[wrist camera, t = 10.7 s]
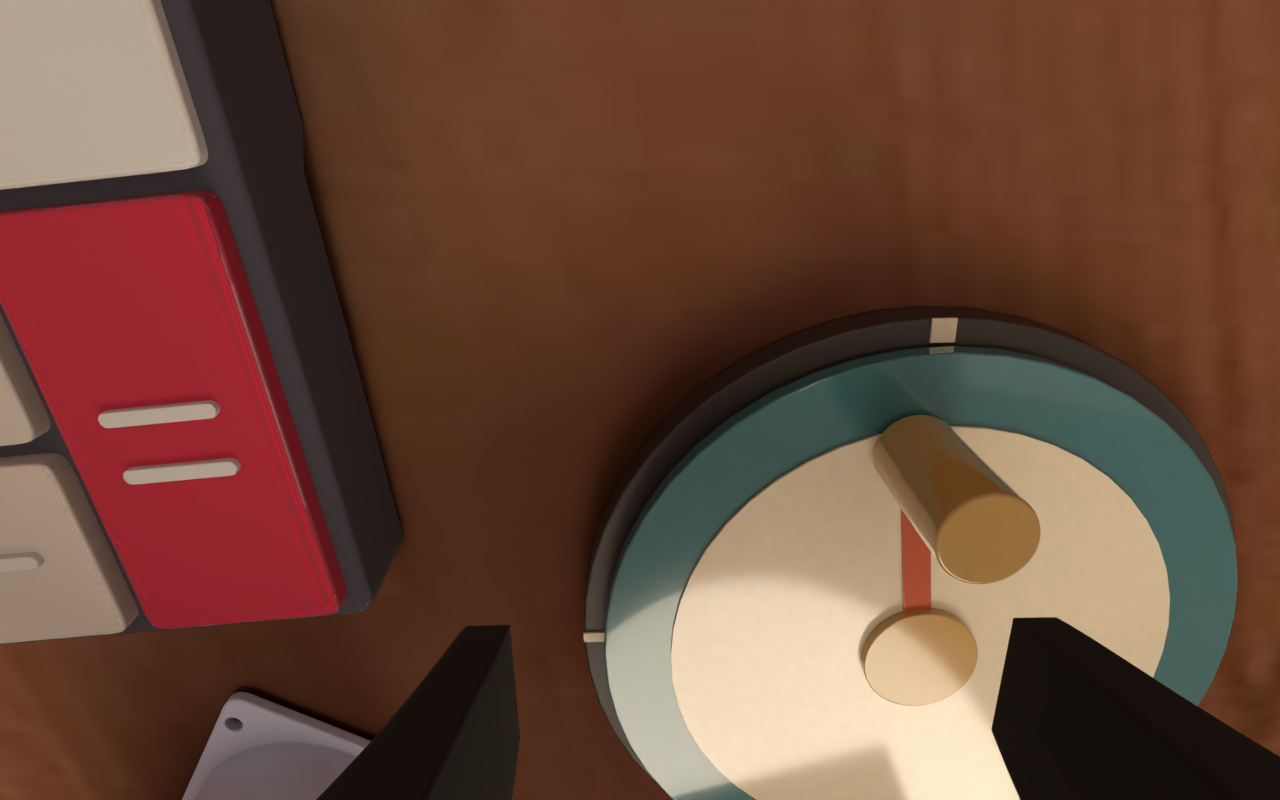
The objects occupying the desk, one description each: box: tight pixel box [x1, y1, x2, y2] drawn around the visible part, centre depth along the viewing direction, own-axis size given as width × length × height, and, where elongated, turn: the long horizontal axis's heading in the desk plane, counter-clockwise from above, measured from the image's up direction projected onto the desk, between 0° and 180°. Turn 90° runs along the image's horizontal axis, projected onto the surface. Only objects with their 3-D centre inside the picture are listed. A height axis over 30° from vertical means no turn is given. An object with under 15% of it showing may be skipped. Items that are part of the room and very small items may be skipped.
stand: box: [584, 306, 1235, 785], centre depth 21 cm, size 18×18×1 cm
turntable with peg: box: [604, 346, 1238, 800], centre depth 18 cm, size 17×17×5 cm
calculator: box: [0, 0, 403, 644], centre depth 17 cm, size 11×4×15 cm
